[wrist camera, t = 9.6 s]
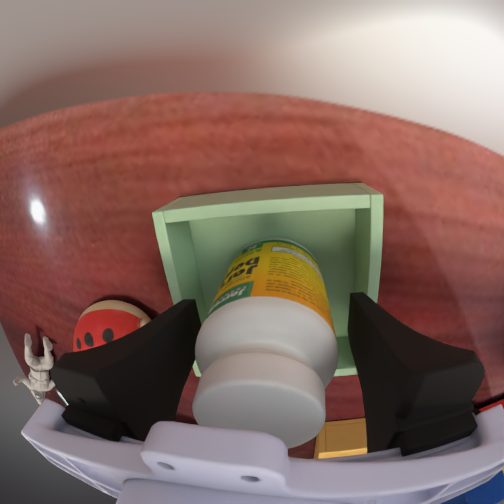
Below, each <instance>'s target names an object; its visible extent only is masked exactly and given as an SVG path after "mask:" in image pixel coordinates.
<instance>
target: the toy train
mask: <svg viewBox="0 0 504 504" xmlns="http://www.w3.org/2000/svg"><path fill="white" fill-rule="evenodd" d="M499 404H501V405H502V407H503V409H504V399H502V400H500V401H498V402H496V403H493V404H491V405H489V406H486V407H484V408H481V409H477V408H475V407H474V410H473V411H471V412H472V414H473V416H474V417H475V416H477V415H478V414H479V413H481V412H483V411H485V410H488V409H490V408H492V407H495V406H497V405H499ZM502 500H504V468H503V469H502V470H501V471H499V472H498V473H497V474H496V475H495V476H494V477H492V478H491V479H490V480H489V481H487V482H485V483H483V484H481V485H479V486H477V487H475V488H473V489H471V490H469V491H467V492H465V493H463V494H461V495H458V496H456V497H454V498H452V499H449V500H447V501H445V502H442V503H440V504H498V503H499V502H501V501H502Z"/></svg>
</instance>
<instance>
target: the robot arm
mask: <svg viewBox="0 0 504 504" xmlns="http://www.w3.org/2000/svg"><path fill="white" fill-rule="evenodd" d="M201 326H202V325H201V321H200V317H199V313H198V309H197V305H196V300H195V299H183V300H181V301H180V302H178V303H176V304H175V305H173V306H172V307H170V308H169V309H168V310H166V311H165V312H163V313H162V314H160V315H159V316H157V317H156V318H154V319H153V320H151V321H150V322H148V323H146V324H145V325H143V326H142V327H140V328H138V329H137V330H135V331H133V332H131V333H129V334H127V335H125V336H123V337H121V338H118V339H116V340H113V341H111V342H108V343H106V344H103V345H100V346H97V347H94V348H90V349H86V350H82V351H76V352H71V353H65V354H63V355H62V356H61V358H60V359H59V360H58V361H57V362H56V363H55V364H54V366H53V367H52V368H51V370H50V374H51V378H52V381H53V382H54V384H55V386H56V387H57V389H58V390H59V392H60V393H61V394H62V396H63V397H64V399H65V400H66V401H67V403H68V404H69V405H68V406H67V407H66V409H65V408H64V407H63V406H61V405H60V404H58V403H55V402H53V401H51V400H49V399H45V400H44V401H43V402H42V404H41V405H40V406H39V408H38V409H37V411H36V412H35V413H34V414H33V416H32V417H31V419H30V420H29V421H28V423H27V424H26V426H25V427H24V428H23V430H22V431H21V434H22V435H23V436H24V437H25V438H26V439H27V440H28V441H29V442H30V443H31V444H32V445H33V446H34V447H35V448H36V449H37V450H38V451H39V452H40V453H41V454H42V455H43V456H45V457H46V458H47V459H48V460H49V461H50V462H51V463H53V464H55V465H56V466H58V467H59V468H61V469H63V470H64V471H66V472H68V473H69V474H71V475H73V476H75V477H76V478H78V479H80V480H82V481H84V482H86V483H87V484H89V485H91V486H93V487H95V488H97V489H99V490H101V491H102V492H104V493H107V494H109V495H111V496H113V497H115V498H118V500H117V502H116V504H440V503H442V502H445V501H447V500H449V499H452V498H454V497H456V496H458V495H461V494H463V493H465V492H467V491H469V490H471V489H473V488H475V487H477V486H479V485H481V484H483V483H485V482H487V481H489V480H490V479H491V478H492V477H494V476H495V475H496V474H497V473H498V472H499V471H501V470H502V469H503V468H504V409H503V407H502V405H501V404H499V405H497V406H495V407H492V408H490V409H488V410H485V411H483V412H481V413H479V414H478V415H477V416H475V417H474V416H473V414H472V412H471V411H473V410H474V405H473V403H472V401H471V400H472V399H473V397H474V395H475V394H476V392H477V390H478V388H479V387H480V385H481V383H482V380H483V378H484V373H485V370H484V366H483V365H482V363H481V361H480V360H479V358H478V357H477V355H476V354H475V352H474V351H471V350H467V349H462V348H458V347H454V346H450V345H447V344H444V343H441V342H438V341H436V340H433V339H431V338H429V337H426V336H424V335H422V334H420V333H418V332H416V331H415V330H413V329H411V328H409V327H408V326H406V325H404V324H403V323H401V322H400V321H398V320H397V319H396V318H394V317H393V316H391V315H390V314H389V313H388V312H386V311H385V310H384V309H383V308H381V307H380V306H379V305H378V304H377V303H375V302H374V301H373V300H372V299H371V298H370V297H369V296H367V295H366V294H365V293H364V292H356V293H350V302H349V316H348V327H347V330H348V337H349V343H350V348H351V352H352V355H353V359H354V362H355V366H356V369H357V373H358V377H359V380H360V384H361V389H362V394H363V402H364V410H365V421H366V435H367V453H366V454H359V455H352V456H343V457H333V458H321V459H302V458H293V457H288V448H287V446H286V445H285V443H284V442H283V440H282V439H280V438H278V437H276V436H274V435H271V434H269V433H267V432H261V431H255V430H248V429H232V428H220V427H210V426H202V425H194V424H187V423H181V422H174V421H175V416H176V412H177V408H178V404H179V401H180V397H181V394H182V390H183V388H184V385H185V383H186V380H187V378H188V376H189V373H190V371H191V369H192V366H193V364H194V362H195V359H196V358H195V345H196V340H197V336H198V333H199V331H200V328H201Z"/></svg>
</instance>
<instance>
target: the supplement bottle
mask: <svg viewBox="0 0 504 504" xmlns="http://www.w3.org/2000/svg"><path fill="white" fill-rule="evenodd" d="M195 358H196V363H197V366H198V369H199V371H200V373H201V378H200V380H199V385H198V388H197V391H196V394H195V397H194V400H193V403H192V411H193V415H194V418H195V420H196V422H197V423H198V424H199V425H202V426H210V427H220V428H232V429H248V430H255V431H261V432H267V433H269V434H271V435H274V436H276V437H278V438H280V439H282V440H283V442H284V443H285V445H286V446H287V448H293V447H296V446H299V445H301V444H304V443H306V442H308V441H309V440H311V439H313V438H314V437H315V436H316V435H317V434H318V433H319V432H320V431H321V430H322V428H323V426H324V423H325V418H326V411H325V388H326V387H327V386H328V384H329V383H330V381H331V380H332V378H333V376H334V373H335V371H336V368H337V363H338V346H337V339H336V335H335V330H334V325H333V321H332V316H331V311H330V307H329V302H328V298H327V294H326V289H325V285H324V281H323V277H322V273H321V269H320V267H319V264H318V262H317V260H316V259H315V257H314V256H313V255H312V254H311V252H310V251H309V250H307V249H306V248H305V247H304V246H302V245H300V244H299V243H297V242H295V241H292V240H289V239H284V238H265V239H261V240H258V241H255V242H253V243H250V244H248V245H247V246H245V247H244V248H243V249H242V250H241V251H240V252H239V253H238V254H237V255H236V257H235V258H234V260H233V261H232V263H231V265H230V267H229V269H228V271H227V273H226V275H225V277H224V279H223V282H222V284H221V286H220V288H219V290H218V292H217V295H216V297H215V299H214V301H213V303H212V305H211V307H210V309H209V311H208V313H207V315H206V318H205V320H204V322H203V324H202V326H201V328H200V331H199V333H198V336H197V340H196V345H195Z"/></svg>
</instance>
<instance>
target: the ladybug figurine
mask: <svg viewBox="0 0 504 504" xmlns="http://www.w3.org/2000/svg"><path fill="white" fill-rule="evenodd" d="M150 321H151V319H150V318H149V317H148V316H147V315H146V314H145V313H144V312H143V311H142V310H140V309H139V308H137V307H136V306H134V305H132V304H129V303H126V302H123V301H118V300H105V301H101V302H98V303H95V304H93V305H91V306H90V307H88V308H87V309H86V310H85V311H84V312H83V313H82V315H81V316H80V318H79V320H78V322H77V324H76V327H75V331H74V336H73V350H74V352H76V351H82V350H86V349H90V348H94V347H97V346H100V345H103V344H106V343H108V342H111V341H113V340H116V339H118V338H121V337H123V336H125V335H127V334H129V333H131V332H133V331H135V330H137V329H138V328H140V327H142V326H143V325H145V324H146V323H148V322H150Z"/></svg>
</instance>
